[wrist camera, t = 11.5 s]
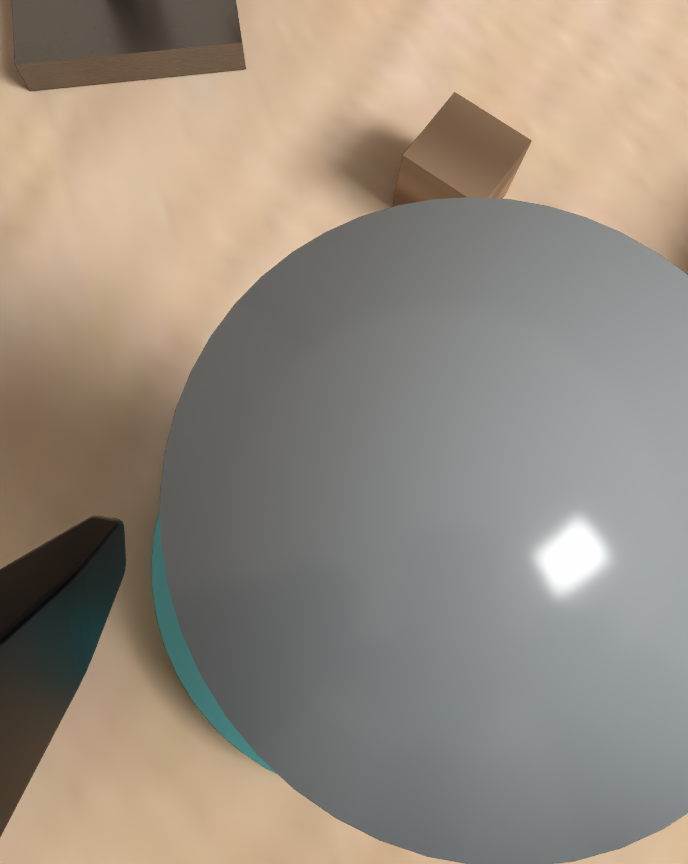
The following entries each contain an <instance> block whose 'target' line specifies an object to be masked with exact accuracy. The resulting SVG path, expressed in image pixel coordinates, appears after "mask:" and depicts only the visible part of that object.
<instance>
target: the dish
mask: <svg viewBox="0 0 688 864" xmlns="http://www.w3.org/2000/svg"><path fill="white" fill-rule="evenodd" d="M152 591H153V597H154V604H155V610H156V617H157V621H158V625H159V628H160V632H161V635H162V639H163V642H164V645H165V649H166V651H167V653H168V656H169V658H170V660H171V662H172V665H173V667H174V669H175V671H176V674H177V676H178V678H179V680H180V681H181V683H182V684H183V686H184V688H185V689H186V691H187V692H188V694H189V696H190V697H191V699H192V701H193V702H194V704H195V705H196V706H197V707H198V709H199V710H200V711H201V712H202V714H203V715H204V716H205V717H206V718H207V720H208V721H209V722H210V723H211V724H212V726H213V727H214V728H215V729H216V730H217V731H218V732H219V733H220V734H222V735H223V736H224V737H225V738H226V739H227V740H228V741H229V742H230V743H231V744H232V745H233V746H235V747H236V748H237V749H238V750H239V751H241V752H242V753H244V754H245V755H247V756H248V757H250V758H251V759H252V760H254V761H255V762H257V763H258V764H260V765H261V766H263V767H264V768H266V769H268V770H270V771H272V772H274V773H276V772H275V771H274V770H273V769H272V768H271V767H270V766H269V765H268V764H267V763H265V762H264V761H263V760H262V759H261V758H260V757H259V756H258V755H257V754H256V753H255V751H254V750H253V749H252V748H251V747H250V745H249V744H248V743H247V742H246V741H245V739H244V738H243V737H242V736H241V734H240V733H239V732H238V731H237V730H236V728H235V727H234V726H233V725H232V723H231V722H230V721H229V720H228V719H227V717H226V716H225V714H224V713H223V711H222V709H221V708H220V706H219V705H218V703H217V701H216V700H215V698H214V696H213V695H212V693H211V692H210V690H209V688H208V687H207V685H206V683H205V682H204V680H203V679H202V677H201V675H200V673H199V671H198V669H197V666H196V664H195V662H194V660H193V657H192V655H191V653H190V651H189V648H188V646H187V644H186V642H185V639H184V637H183V635H182V633H181V630H180V626H179V623H178V620H177V616H176V613H175V609H174V606H173V603H172V599H171V596H170V592H169V589H168V585H167V578H166V572H165V565H164V559H163V552H162V546H161V528H160V511H159V515H158V519H157V523H156V527H155V533H154V542H153V551H152ZM276 774H277V773H276Z"/></svg>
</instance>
